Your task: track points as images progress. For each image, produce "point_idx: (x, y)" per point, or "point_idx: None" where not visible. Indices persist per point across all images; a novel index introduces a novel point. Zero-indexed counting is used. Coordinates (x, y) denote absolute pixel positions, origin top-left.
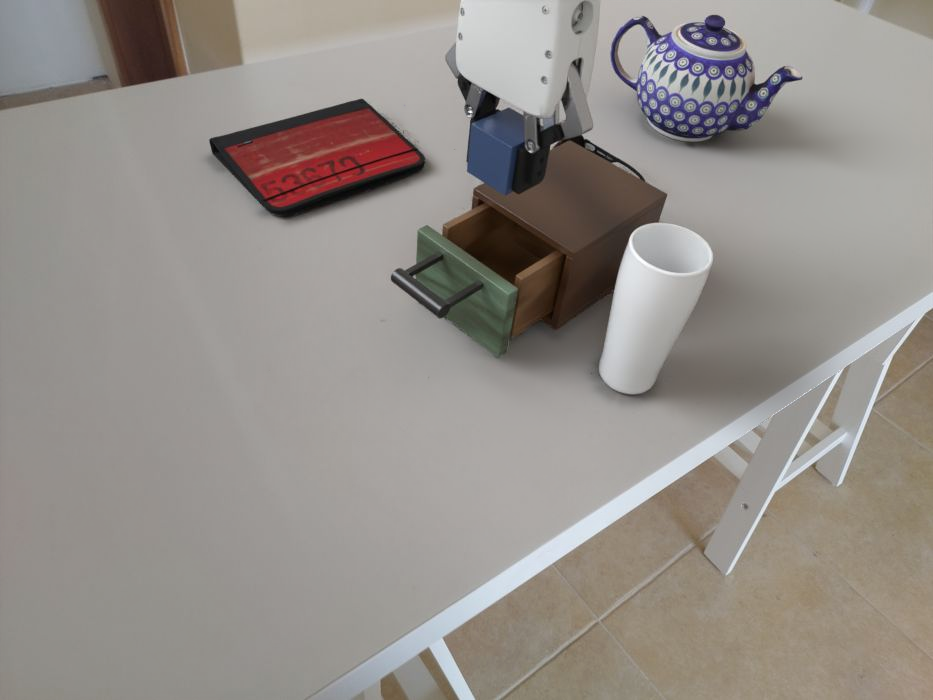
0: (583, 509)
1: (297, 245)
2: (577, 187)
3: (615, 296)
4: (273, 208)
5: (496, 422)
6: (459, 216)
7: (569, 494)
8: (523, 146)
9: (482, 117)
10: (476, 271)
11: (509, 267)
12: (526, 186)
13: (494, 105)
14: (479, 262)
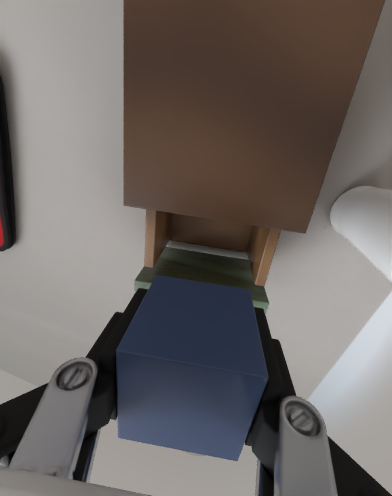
0: (360, 326)
1: (52, 259)
2: (235, 74)
3: (386, 277)
4: (2, 249)
5: (279, 305)
6: (146, 244)
7: (348, 323)
8: (248, 435)
9: (112, 411)
10: None
11: None
12: None
13: (98, 397)
14: None
